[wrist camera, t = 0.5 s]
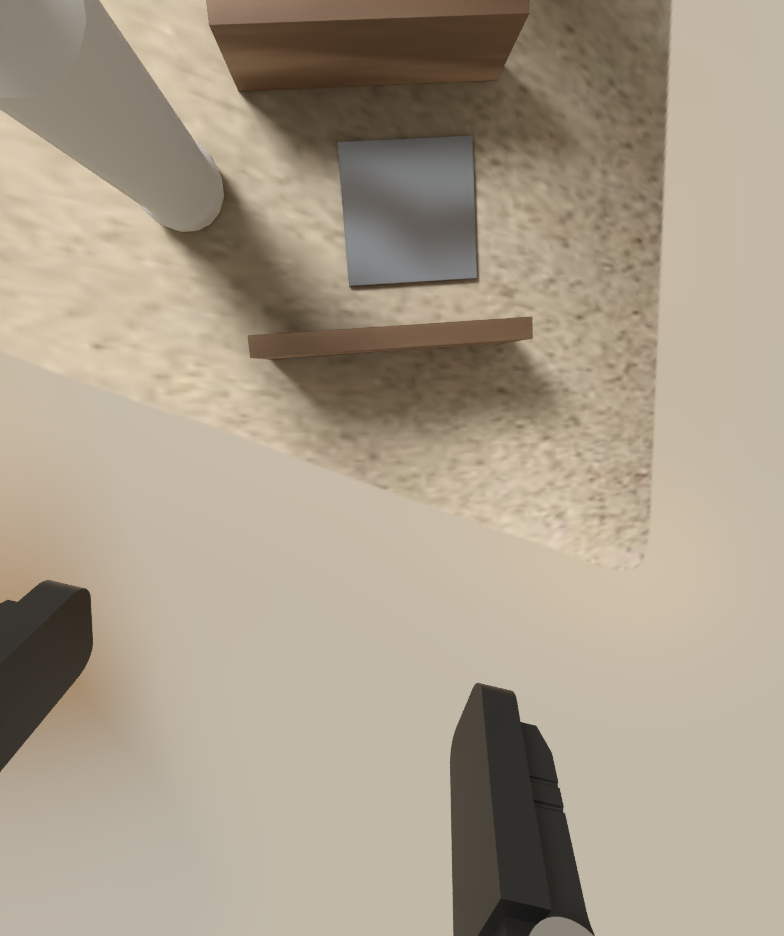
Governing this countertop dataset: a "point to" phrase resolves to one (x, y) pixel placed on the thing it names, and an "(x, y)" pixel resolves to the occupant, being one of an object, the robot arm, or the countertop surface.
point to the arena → (384, 143)
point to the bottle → (103, 108)
